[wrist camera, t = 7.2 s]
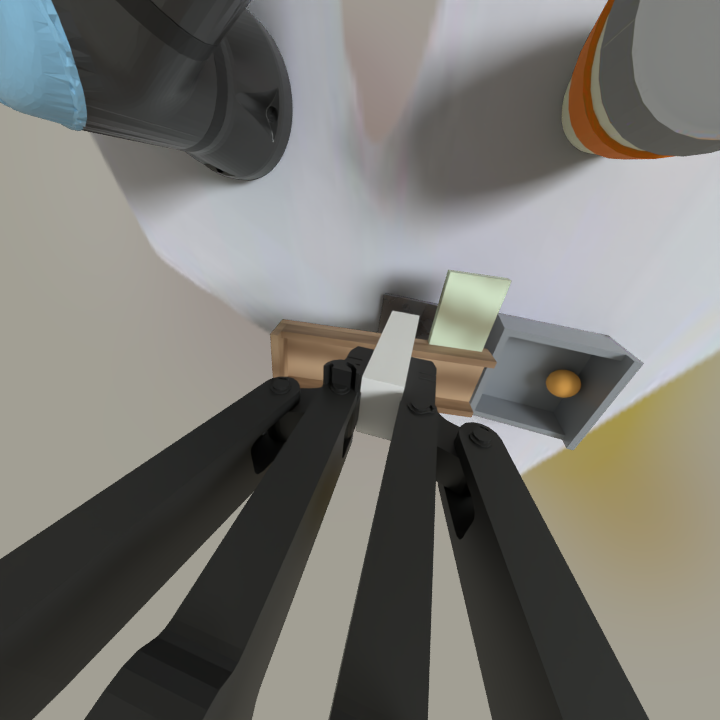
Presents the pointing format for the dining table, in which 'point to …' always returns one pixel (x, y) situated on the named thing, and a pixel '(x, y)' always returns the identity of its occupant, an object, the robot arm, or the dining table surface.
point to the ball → (563, 383)
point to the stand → (409, 306)
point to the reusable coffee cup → (647, 81)
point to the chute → (444, 346)
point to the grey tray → (534, 364)
